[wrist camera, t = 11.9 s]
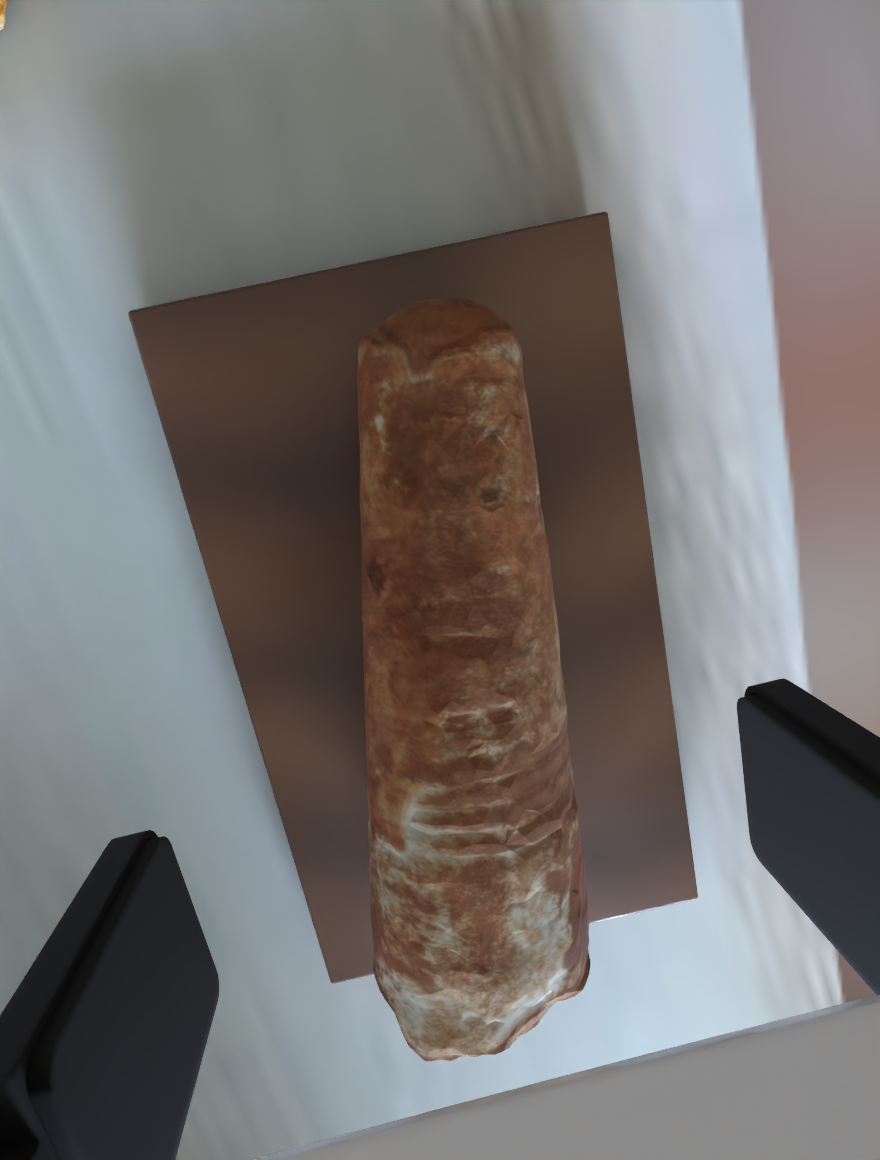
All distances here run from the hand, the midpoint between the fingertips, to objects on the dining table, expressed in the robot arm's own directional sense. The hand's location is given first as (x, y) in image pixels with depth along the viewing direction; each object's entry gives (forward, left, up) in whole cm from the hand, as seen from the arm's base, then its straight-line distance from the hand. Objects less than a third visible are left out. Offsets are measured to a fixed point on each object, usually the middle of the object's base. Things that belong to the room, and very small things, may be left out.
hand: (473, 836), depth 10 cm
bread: (0, 0, -10) cm, 10 cm away
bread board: (0, +1, -11) cm, 11 cm away
